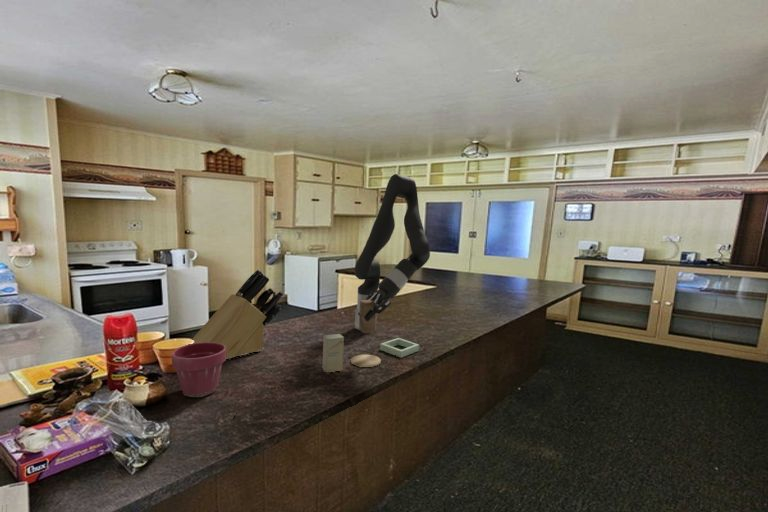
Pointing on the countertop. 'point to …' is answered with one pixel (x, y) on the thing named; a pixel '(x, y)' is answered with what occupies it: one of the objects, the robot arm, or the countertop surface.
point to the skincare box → (333, 352)
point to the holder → (391, 349)
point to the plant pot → (199, 366)
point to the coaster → (366, 360)
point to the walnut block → (364, 309)
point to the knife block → (242, 318)
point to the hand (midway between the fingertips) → (362, 317)
